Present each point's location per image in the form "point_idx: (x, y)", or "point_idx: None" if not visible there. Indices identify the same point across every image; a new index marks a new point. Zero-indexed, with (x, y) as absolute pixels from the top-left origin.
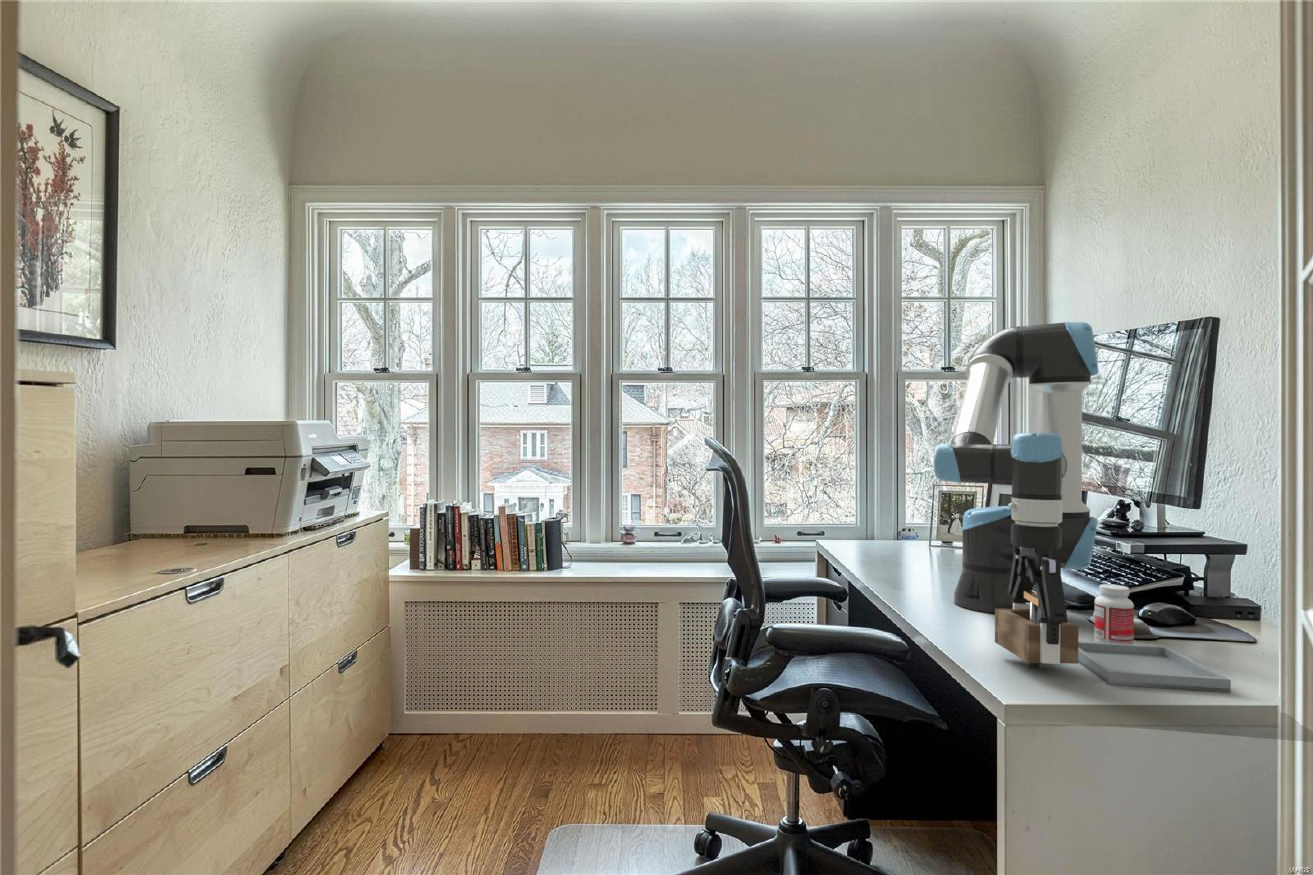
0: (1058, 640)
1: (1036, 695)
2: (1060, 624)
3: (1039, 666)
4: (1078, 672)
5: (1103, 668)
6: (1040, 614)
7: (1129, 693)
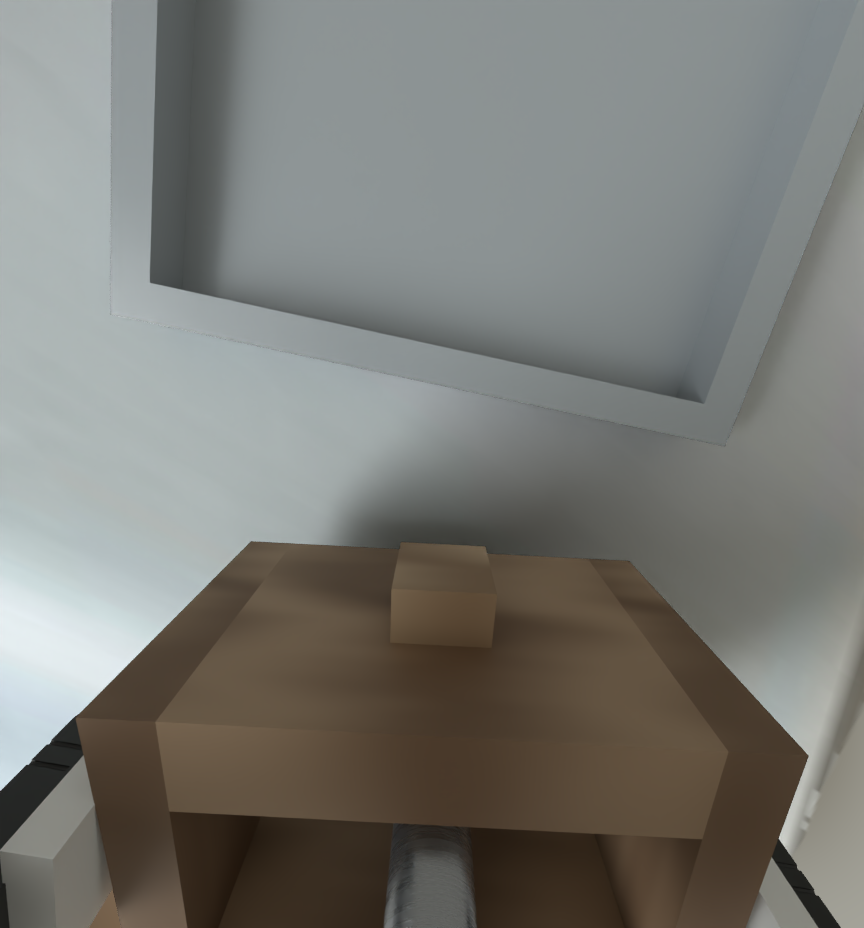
0: (783, 849)
1: None
2: (698, 857)
3: None
4: (511, 465)
5: (662, 432)
6: None
7: (799, 415)
